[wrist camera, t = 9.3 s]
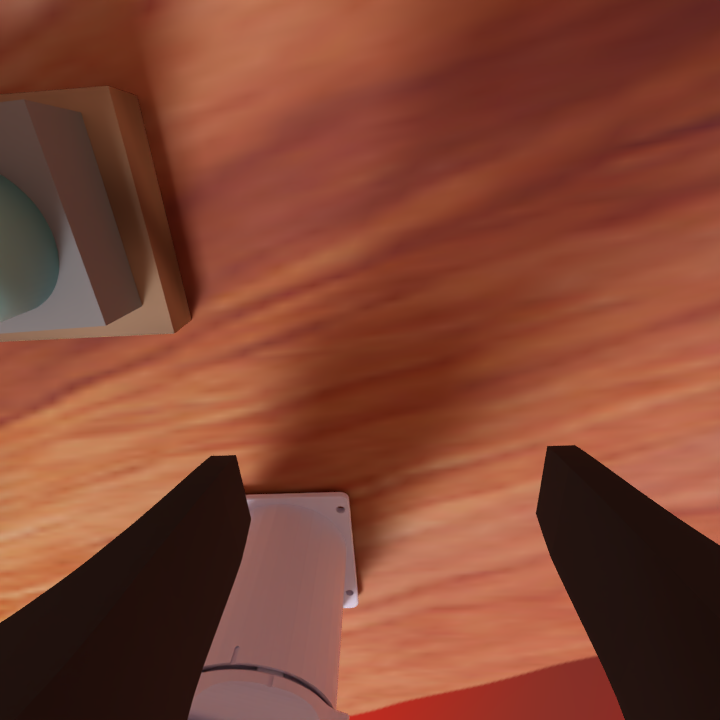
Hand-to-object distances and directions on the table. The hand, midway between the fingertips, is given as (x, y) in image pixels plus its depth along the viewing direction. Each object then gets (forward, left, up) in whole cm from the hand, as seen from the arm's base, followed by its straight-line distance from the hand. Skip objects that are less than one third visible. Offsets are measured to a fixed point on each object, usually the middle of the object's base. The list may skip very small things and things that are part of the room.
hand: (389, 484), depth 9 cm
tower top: (+6, +14, -9) cm, 17 cm away
